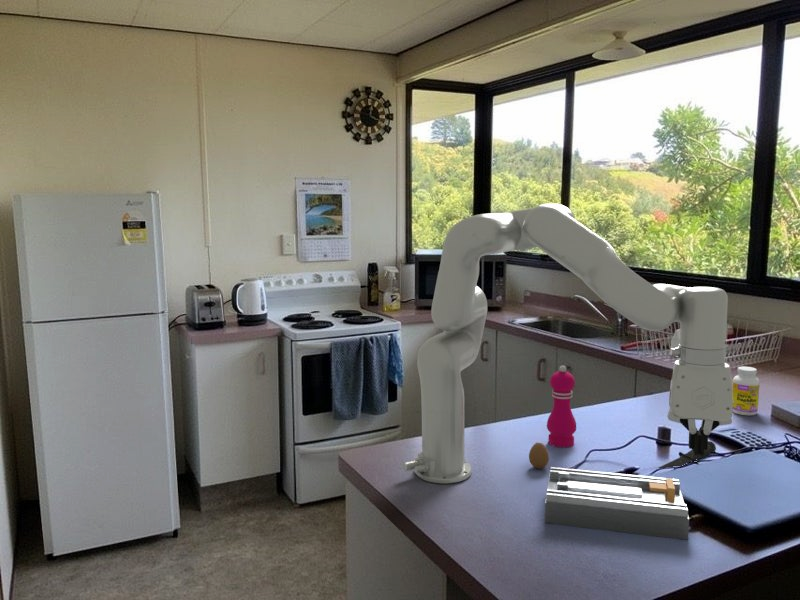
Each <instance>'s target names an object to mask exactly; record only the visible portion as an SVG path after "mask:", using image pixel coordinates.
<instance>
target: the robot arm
mask: <svg viewBox="0 0 800 600" xmlns="http://www.w3.org/2000/svg"><path fill="white" fill-rule="evenodd" d="M536 248H538V249H539V250H541V251H542V252H543V253H545V254H546V255H548V256H549V257H550V258H552V259H553V260H554V261H556V262H557V263H559V265H561V266H563V267H564V268H565V269H567V270H569V271H570V272H571V273H572V274H574V275H575V276H576V277H578V278H579V279H580V280H582V282H583V283H584V284H585V285H586V286H587V287H588V288H589V289H590V290H591V291H593V293H594V294H596V295H597V296H598V298H600V299H601V300H602V301H603V302H604V303H605V304H606V305H608V306H609V307H610V308H612V309H613V310H614V311H615V312H617V313H618V314H620V315H621V316H623V317H624V318H625V319H627V320H628V321H629V322H631V323H632V324H634V325H635V326H637V327H639V328H641V329H642V330H646V331H649V332H660V331H664V330H665V329H667V328H669V327H670V326H671V325H672V324H673V323H679V327H680V328H679V329H680V344H679V346H678V347H677V348H671V347H670V353H671V355H670V356H674V357H677V358H678V359H677V360H675V361H674V365H673V367H672V368H673V369H672V373H671V380H670V388H669V399H668V403H669V405H668V406H669V409H668V412H667V419H668V420H669V421H670V422H673V423H678V424H681V425H682V426H683V427H684V428H685V429H686V430H687V431H688V449H690V450H692V451H693V453H694V455H701V456H704V450H707V449H708V441H709V435H710V434H711V432H713V431H714V430H715V429H717V428H718V427H720V426H727V425H731V424H732V423H733V419H732V417H733V413H734V412H733V391H732V387H733V379H732V370H731V366H730V365H729V363H727V362H726V348H727V346H726V345H727V342H726V341H727V323H728V306H729V305H728V303H729V302H728V301H729V299H728V298H729V296H728V294H727V292H726V291H725V289H722V288H719V287H715V286H713V287H712V286H693V287H691V286H689V287H688V286H687V287H686V286H680V285H675V284H668V283H667V284H666V283H655V284H652V283H650V282H649V281H648V280H646V279H644V278H643V277H642V276H640V275H639V274H637V273H636V272H635V271H633V270H632V269H631V268H630V267H629V266H628V265H626V264H625V263H624V262H623V260H622V259H621V258H620V257H619V255H618V254H617V252H616V250H615V248H614V247H613V246H612V244H610V243H609V242H608V241H607V240H606V239H605V238H603V237H601V236H600V235H599V234H597V233H596V232H594V231H592V230H591V229H589V228H588V227H587V226H585V225H583V224H582V223H581V222H580V221H578V220H577V219H576V218H575V215H574V213H573V212H572V210H570V208H569V207H567V206H565V205H563V204H560V203H542V204H538V205H536V206H534V207H531V208H527V209H526V208H525V209H521V210H514V211H506V212H490V213H489V212H488V213H480V214H475V215H472V216H468V217H465V218H464V219H461V220H459V221H458V222H456V223H455V224H454V225H453V226H452V227H451V228H450V229H449V231H448V232H447V235H446V236H445V238H444V241H443V247H442V251H441V257H440V264H439V270H438V272H437V278H436V281H435V282H436V283H435V287H434V292H433V293H434V294H433V299H432V303H431V309H430V310H431V311H430V314H431V320H432V321H433V323H434V325H435V326H436V327H437V328H438V329H440V330H442V331H443V332H440V333H438V334H436V335H434V336H432V337H430V338H428V339H427V340H426V341H424V342H423V343H422V345H421V346H420V348H419V349H418V353H417V358H416V360H417V361H416V362H417V363H416V365H417V371H418V376H419V382H420V395H421V396H420V397H421V398H420V400H421V405H420V406H421V448H422V450H421V452H418V453H417V457H416V458H415V459H414V460H409V461H405V462H403V463H402V469H403V471H404V472H409V471H412V470H413V472H414V474H416V476H417V477H418V478H420V479H422V480H424V481H426V482H429V483H434V484H455V483H460V482H462V481H465V480H467V479H468V478H469V477H471V475H472V466H471V464H470V463H469V462H468V461H466V460H465V459H466V458H465V457H466V456H465V391H464V390H465V388H464V386H463V381H462V376H461V372H462V371H463V370H465V369H466V368H468V367H469V366H470V365H472V364H473V363H474V362H475V361H476V359H477V357H478V356H479V352H480V349H481V344H482V338H483V334H484V330H485V324H486V319H487V314H488V300H487V297H486V294H485V293H484V291H483V290H482V289H481V288H480V286H478V284H477V283H478V280H479V276H480V259H481V258H482V257H483V256H491V255H496V254H503V253H508V252H512V251H513V252H514V251H519V250H528V249H536ZM697 420H698V421H699V420H700V421H701V423H700V425H701V426H700V427H699V429H698V428H697V425H696V424H697V423H696V421H697ZM704 457H705V456H704Z"/></svg>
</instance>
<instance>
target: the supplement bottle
mask: <svg viewBox="0 0 800 600" xmlns="http://www.w3.org/2000/svg"><path fill="white" fill-rule="evenodd" d="M757 372H758V371H757V368H755V367H752V366H745V365H744V366H738V367H737V375H735V376H734V377H733V379H732V391H733V413H734V414H737V415H741V416H749V417H750V416H755V415H757V413H758V409H759V398H760V397H759V396H760V385H761V384H760V383H761V381H760V379H759V378H758V377H756V375H757Z"/></svg>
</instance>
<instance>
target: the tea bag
mask: <svg viewBox="0 0 800 600" xmlns="http://www.w3.org/2000/svg"><path fill="white" fill-rule="evenodd" d="M679 344H680V328H679V329H675V331H674V334H673V336H672V338H671V339H670V349H671V348H677V347H678V346H679ZM669 353H670V355H669V356H671V352H669Z"/></svg>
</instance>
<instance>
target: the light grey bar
mask: <svg viewBox="0 0 800 600" xmlns="http://www.w3.org/2000/svg"><path fill="white" fill-rule="evenodd" d="M561 482H562V483H568V491H574V492H584V493H593V494H603V495H612V496H622V497H631V498H641V499H642V491H641V488H633V487H623V486H613V485H603V484H594V483H584V482H574V481H566V480H564V479H562V480H561Z"/></svg>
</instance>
